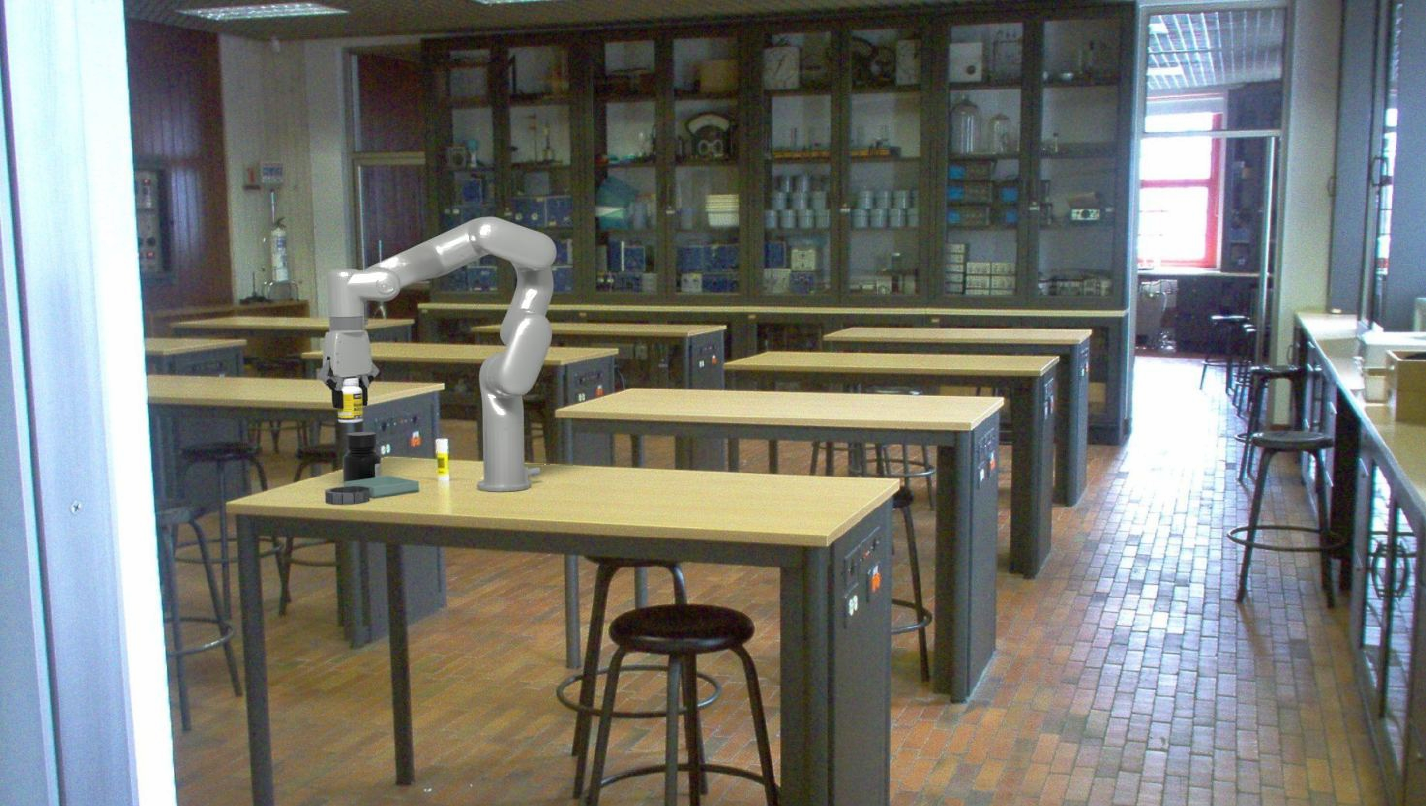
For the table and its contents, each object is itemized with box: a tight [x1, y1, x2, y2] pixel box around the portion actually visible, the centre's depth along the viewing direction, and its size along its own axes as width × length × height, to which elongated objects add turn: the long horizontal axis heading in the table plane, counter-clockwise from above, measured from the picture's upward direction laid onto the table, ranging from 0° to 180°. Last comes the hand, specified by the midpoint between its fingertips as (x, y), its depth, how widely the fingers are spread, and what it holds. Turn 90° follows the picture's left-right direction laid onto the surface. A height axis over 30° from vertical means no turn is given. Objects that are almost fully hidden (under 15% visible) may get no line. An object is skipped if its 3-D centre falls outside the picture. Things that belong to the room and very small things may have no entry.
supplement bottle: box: [337, 376, 364, 424], centre depth 293 cm, size 5×5×10 cm
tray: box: [343, 475, 420, 500], centre depth 305 cm, size 12×12×2 cm
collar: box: [324, 486, 371, 506], centre depth 293 cm, size 9×9×2 cm
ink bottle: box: [342, 431, 383, 483], centre depth 316 cm, size 10×9×12 cm
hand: (350, 406), depth 293 cm, fingers closed on supplement bottle, 5 cm apart
